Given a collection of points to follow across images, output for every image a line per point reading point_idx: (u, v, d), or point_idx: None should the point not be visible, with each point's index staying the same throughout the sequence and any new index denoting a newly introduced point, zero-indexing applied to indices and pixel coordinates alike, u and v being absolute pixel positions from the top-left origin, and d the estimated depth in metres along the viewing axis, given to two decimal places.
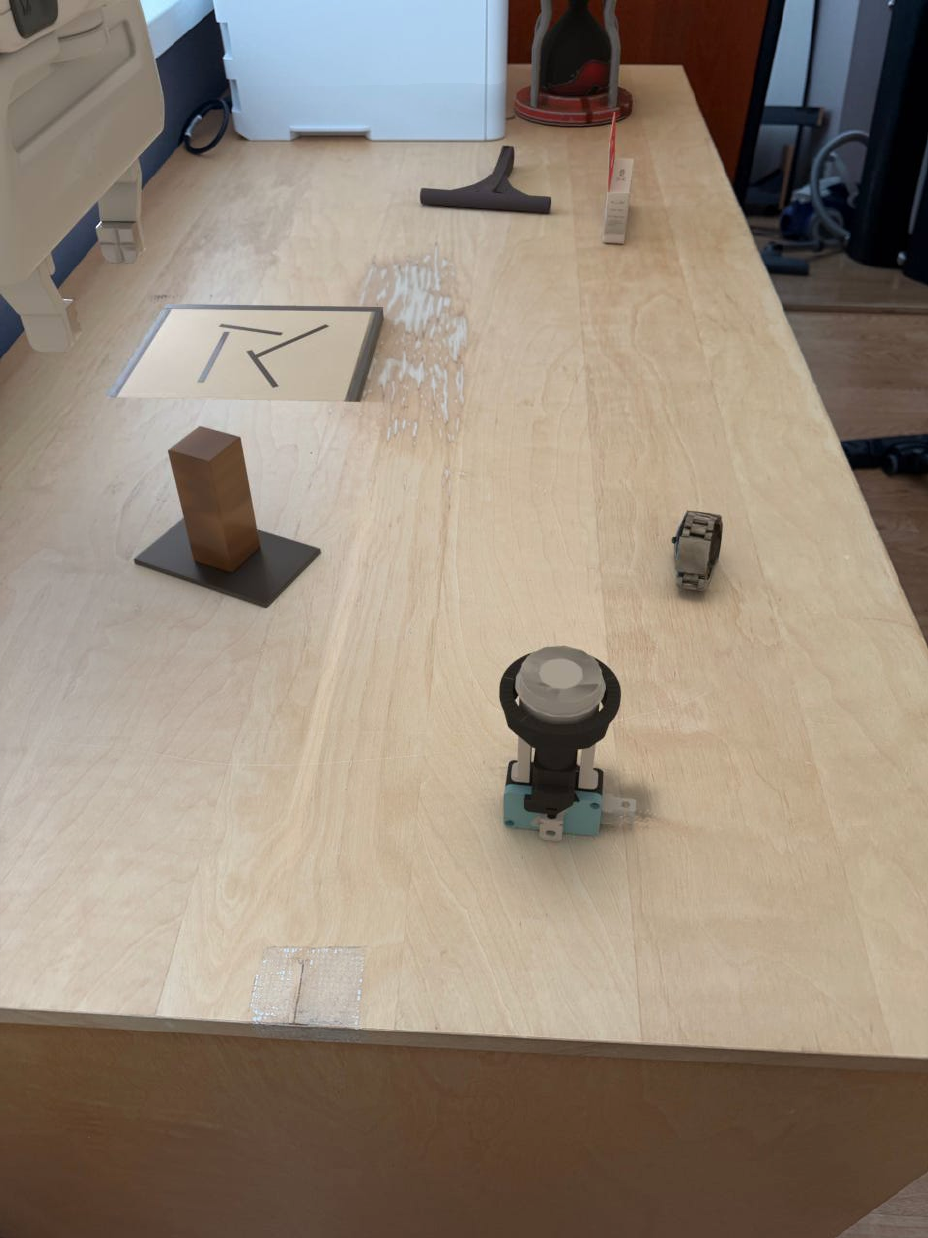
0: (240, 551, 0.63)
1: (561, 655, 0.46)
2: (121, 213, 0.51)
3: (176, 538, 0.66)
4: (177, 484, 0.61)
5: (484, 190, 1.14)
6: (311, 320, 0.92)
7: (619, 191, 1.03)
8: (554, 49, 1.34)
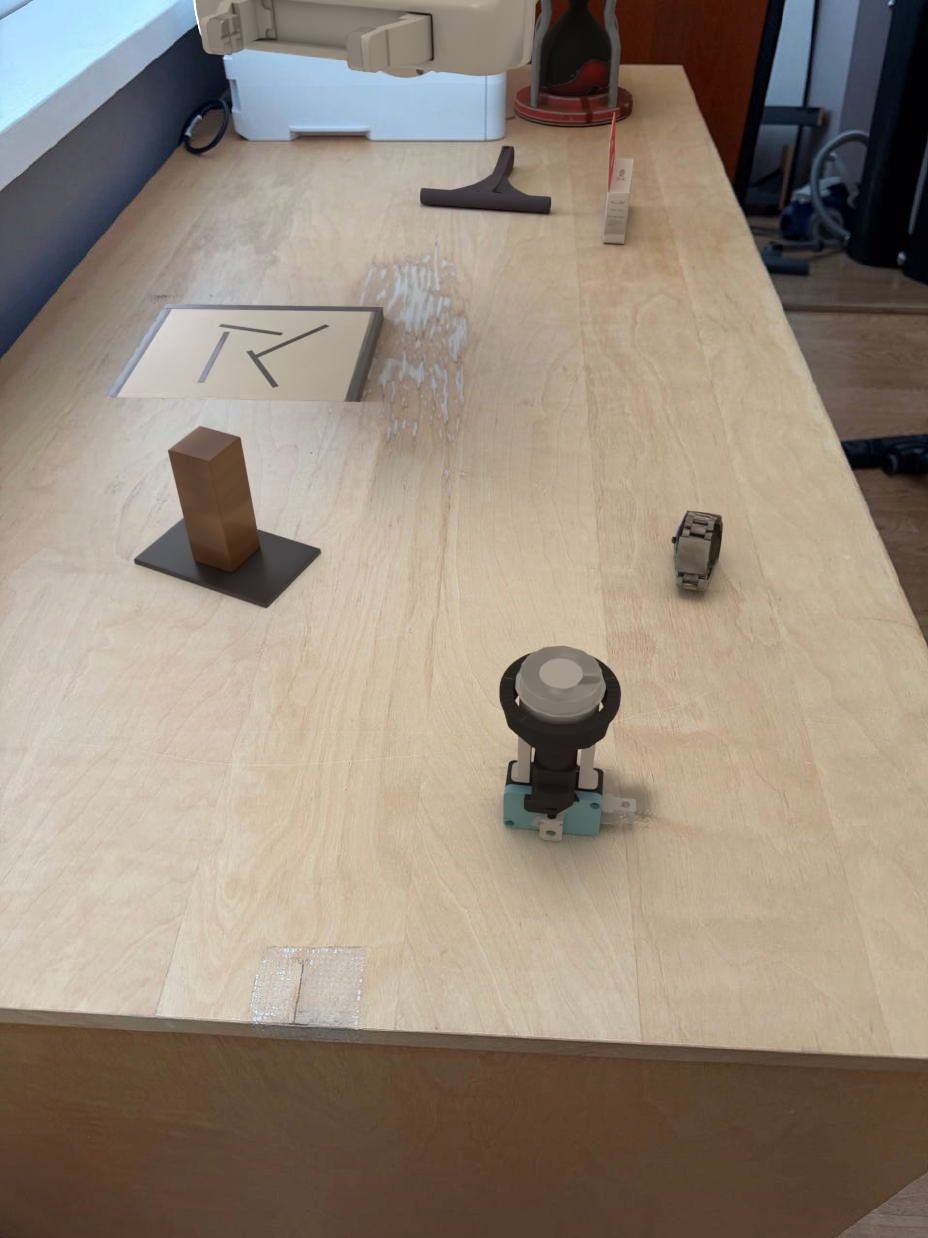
0: (240, 551, 0.63)
1: (561, 655, 0.46)
2: None
3: (176, 538, 0.66)
4: (177, 484, 0.61)
5: (484, 190, 1.14)
6: (311, 320, 0.92)
7: (619, 191, 1.03)
8: (554, 49, 1.34)
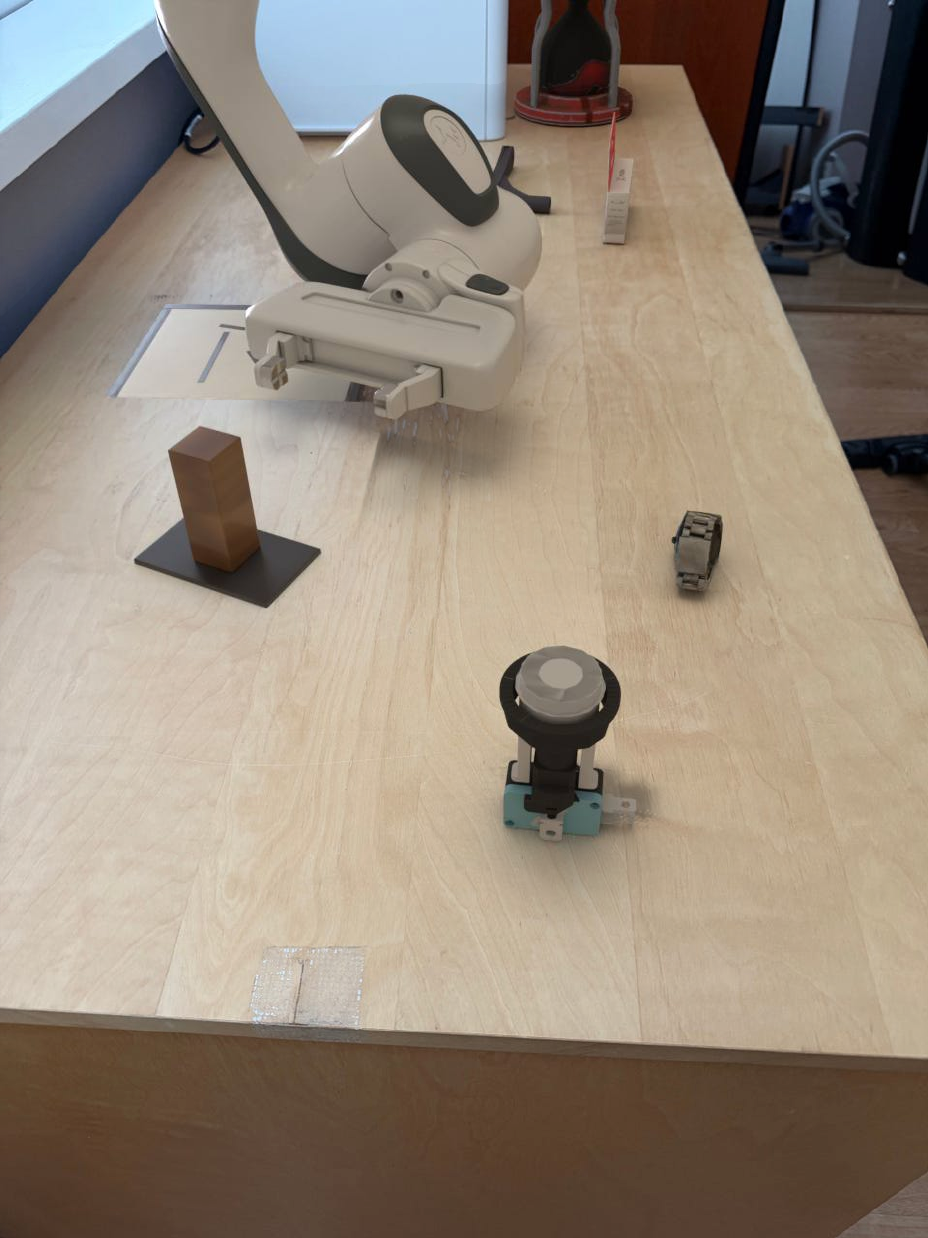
0: (240, 551, 0.63)
1: (561, 655, 0.46)
2: None
3: (176, 538, 0.66)
4: (177, 484, 0.61)
5: None
6: None
7: (619, 191, 1.03)
8: (554, 49, 1.34)
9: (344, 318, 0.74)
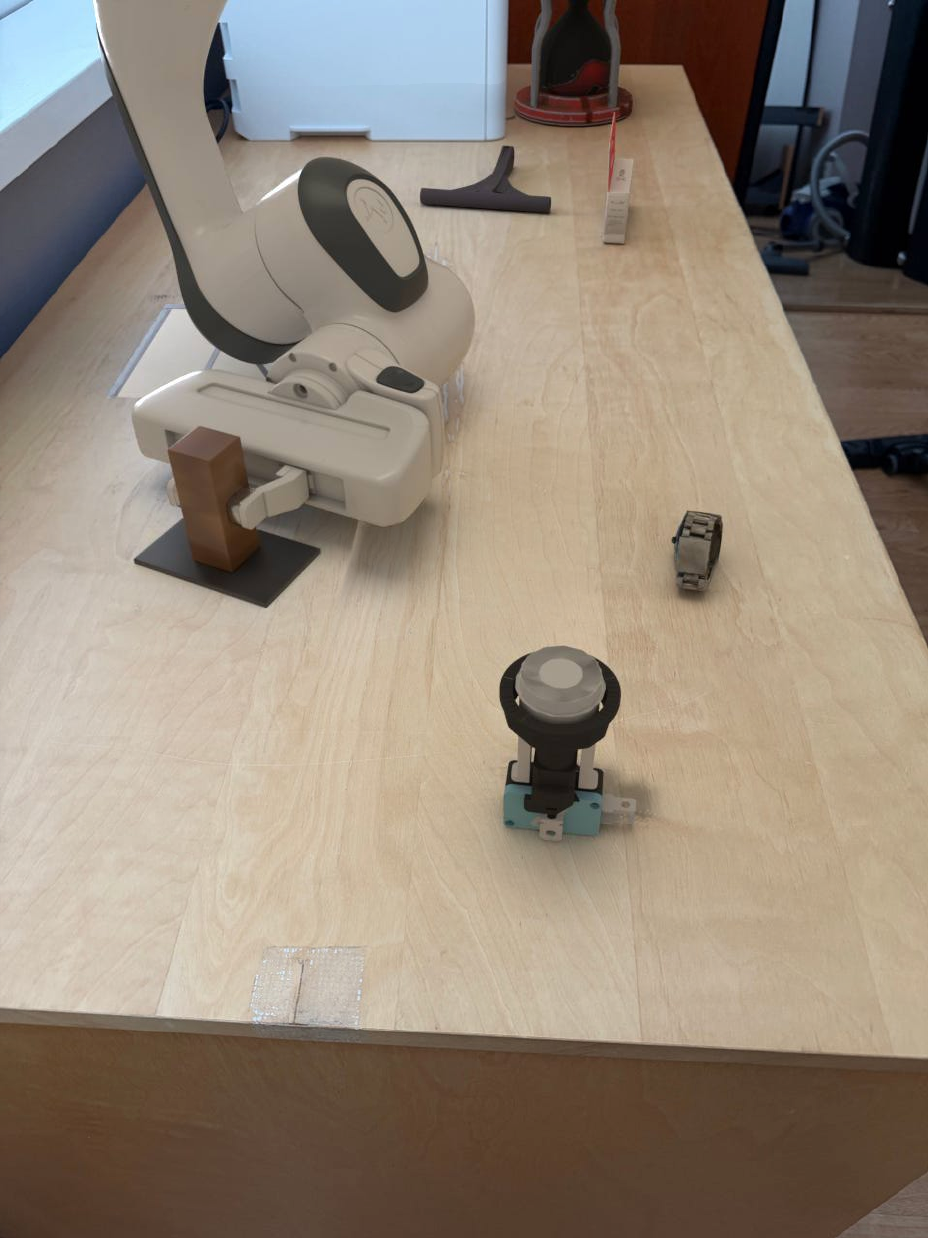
0: (240, 551, 0.63)
1: (561, 655, 0.46)
2: None
3: (176, 538, 0.66)
4: (176, 484, 0.61)
5: (484, 190, 1.14)
6: None
7: (619, 191, 1.03)
8: (554, 49, 1.34)
9: (240, 417, 0.66)
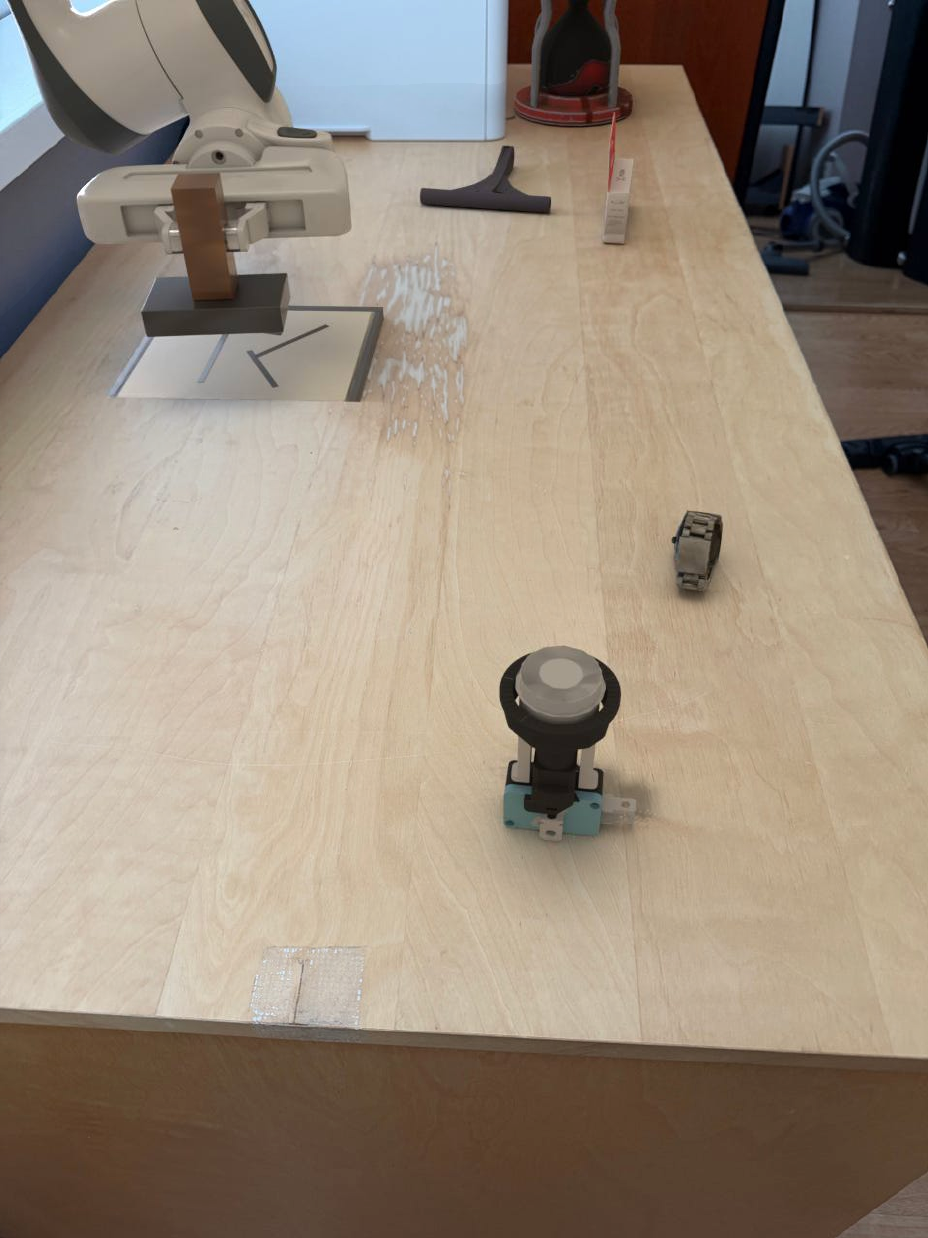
0: (233, 280, 0.76)
1: (561, 655, 0.46)
2: None
3: (163, 293, 0.77)
4: (179, 223, 0.72)
5: (484, 190, 1.14)
6: (311, 320, 0.92)
7: (619, 191, 1.03)
8: (554, 49, 1.34)
9: None
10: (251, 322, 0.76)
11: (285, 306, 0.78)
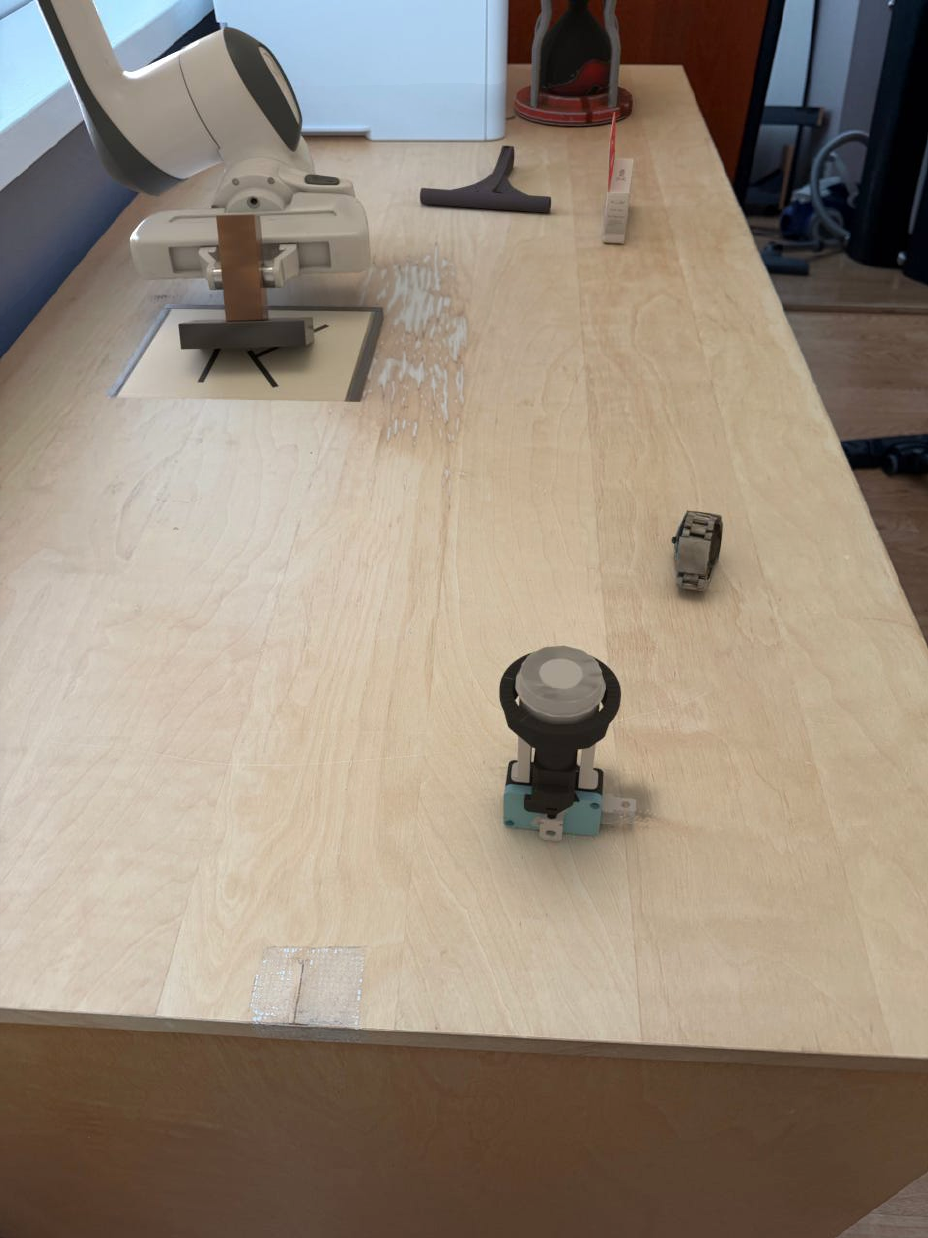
0: (264, 307, 0.84)
1: (561, 655, 0.46)
2: None
3: (199, 321, 0.85)
4: (220, 247, 0.82)
5: (484, 190, 1.14)
6: None
7: (619, 191, 1.03)
8: (554, 49, 1.34)
9: None
10: (277, 335, 0.83)
11: (309, 334, 0.85)
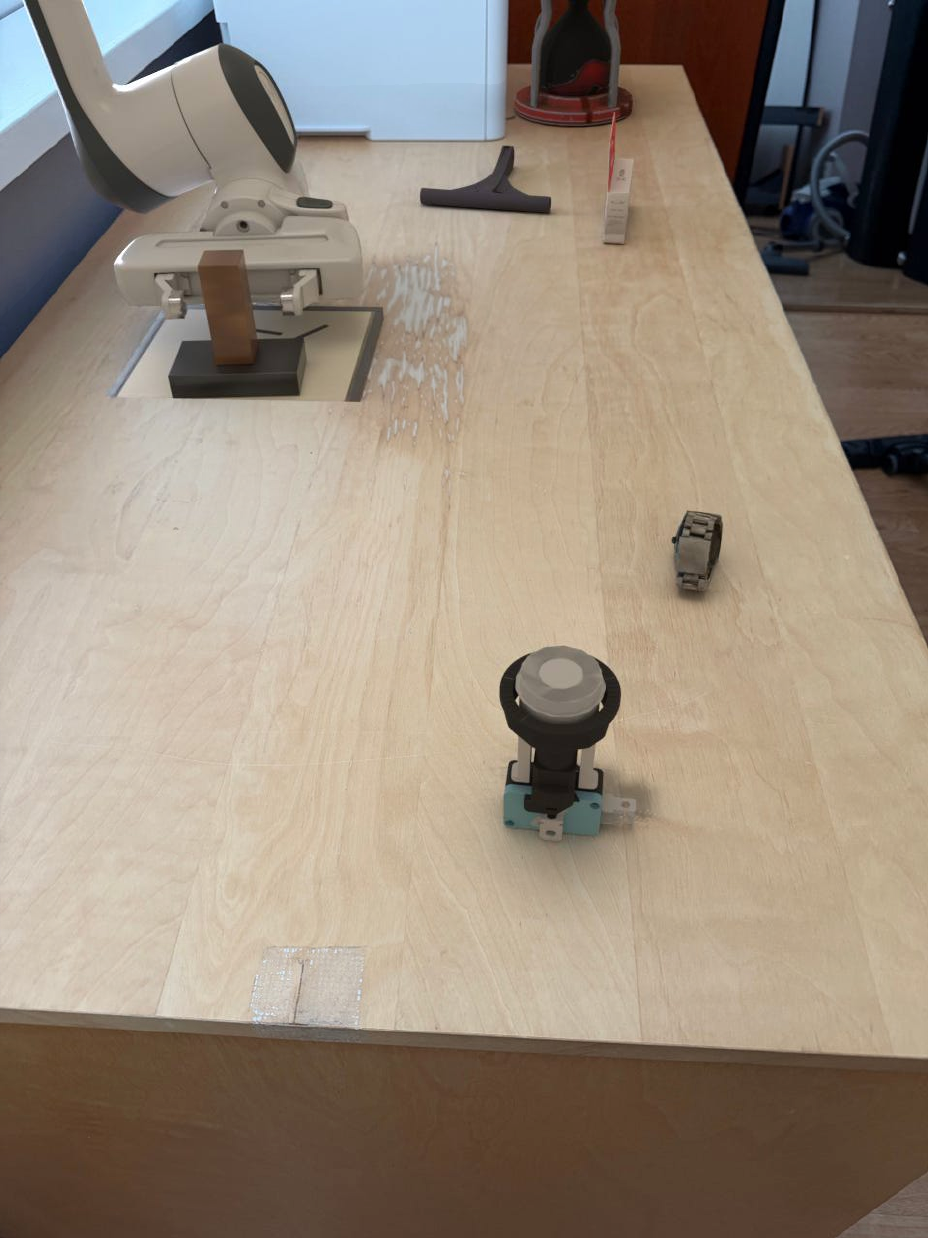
0: (253, 346, 0.82)
1: (561, 655, 0.46)
2: None
3: (188, 357, 0.82)
4: (205, 296, 0.78)
5: (484, 190, 1.14)
6: (311, 320, 0.92)
7: (619, 191, 1.03)
8: (554, 49, 1.34)
9: None
10: (270, 386, 0.81)
11: (302, 370, 0.83)
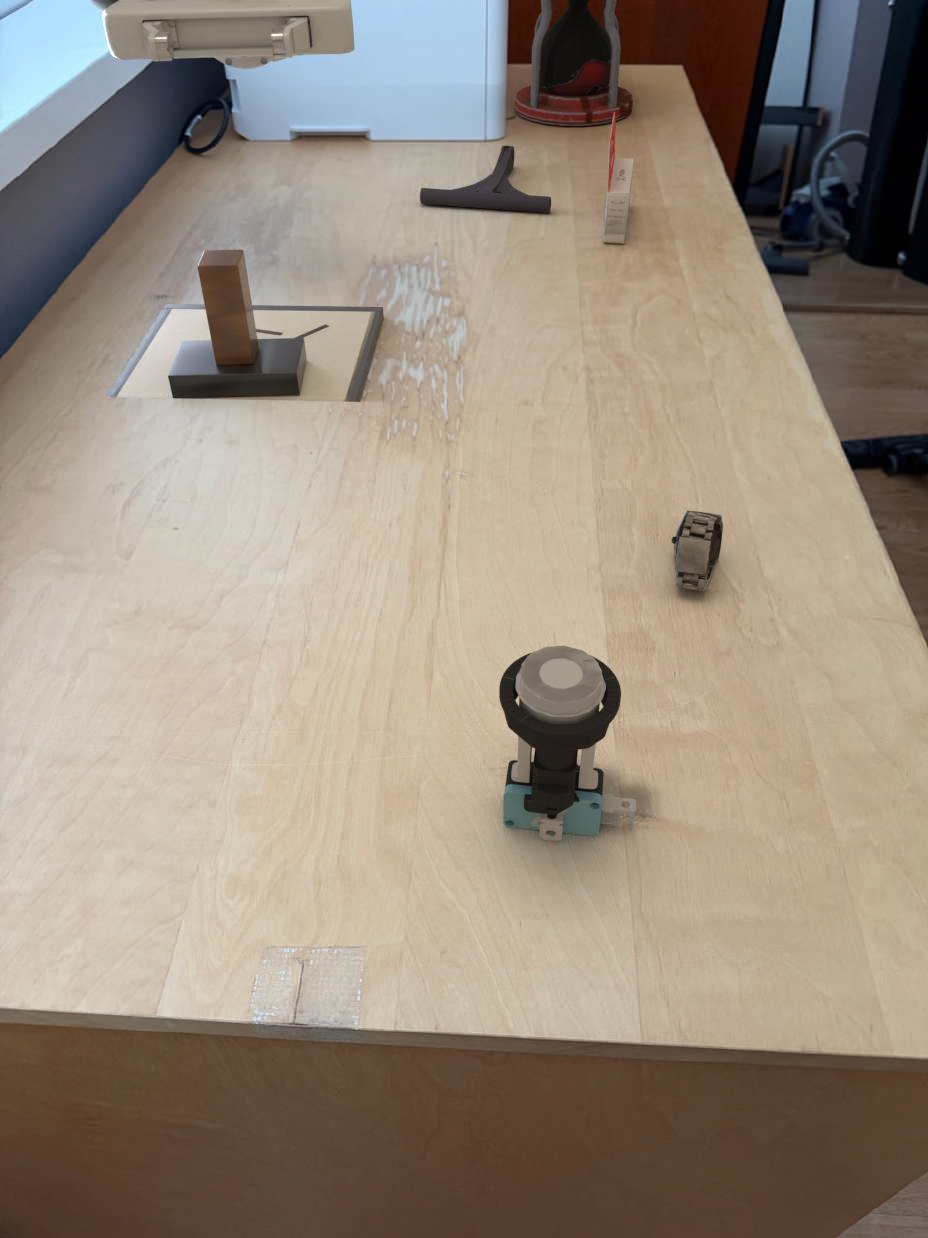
0: (253, 346, 0.82)
1: (561, 655, 0.46)
2: None
3: (188, 357, 0.82)
4: (205, 296, 0.78)
5: (484, 190, 1.14)
6: (311, 320, 0.92)
7: (619, 191, 1.03)
8: (554, 49, 1.34)
9: (198, 2, 0.85)
10: (270, 386, 0.81)
11: (302, 370, 0.83)
